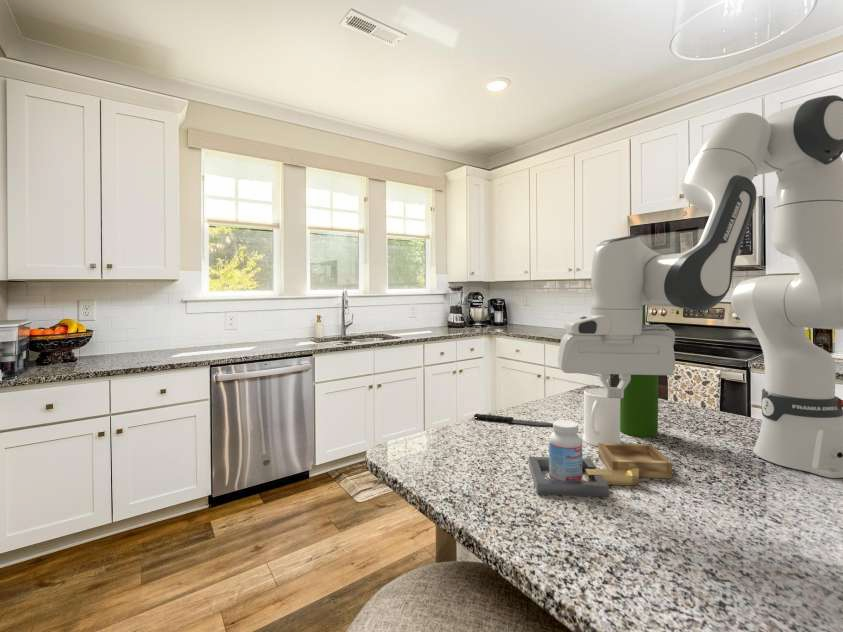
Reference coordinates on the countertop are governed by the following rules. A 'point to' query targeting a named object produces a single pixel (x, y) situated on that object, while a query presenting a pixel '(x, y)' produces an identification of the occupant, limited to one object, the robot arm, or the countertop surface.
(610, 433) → the mug
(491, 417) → the knife
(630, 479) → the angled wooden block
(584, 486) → the socket
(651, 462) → the tray
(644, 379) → the wine bottle
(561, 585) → the countertop surface
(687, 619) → the countertop surface
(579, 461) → the pill bottle
